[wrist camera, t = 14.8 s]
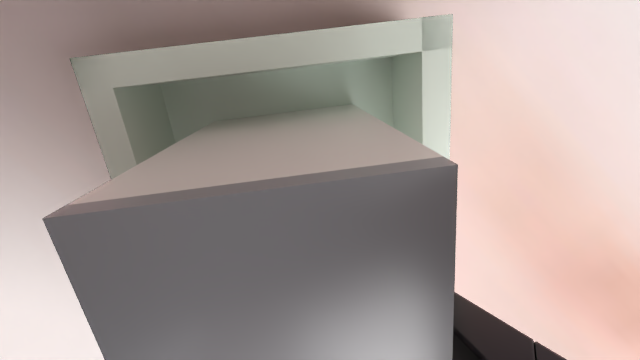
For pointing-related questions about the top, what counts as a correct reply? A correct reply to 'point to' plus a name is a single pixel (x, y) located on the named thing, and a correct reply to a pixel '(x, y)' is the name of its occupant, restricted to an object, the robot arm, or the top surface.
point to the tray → (270, 84)
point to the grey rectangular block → (270, 244)
